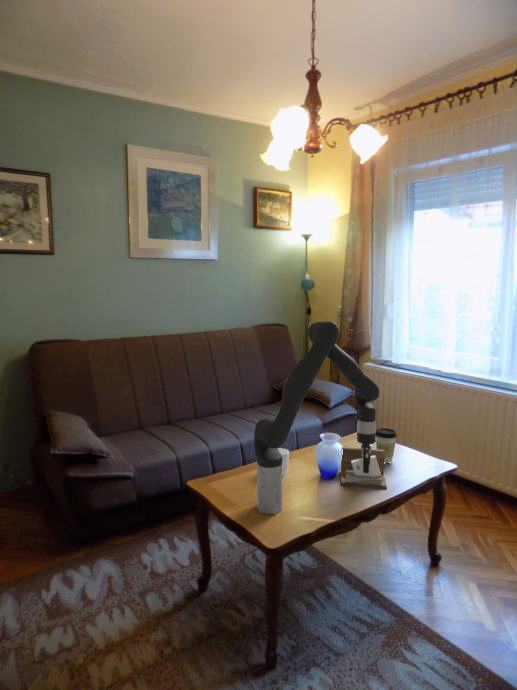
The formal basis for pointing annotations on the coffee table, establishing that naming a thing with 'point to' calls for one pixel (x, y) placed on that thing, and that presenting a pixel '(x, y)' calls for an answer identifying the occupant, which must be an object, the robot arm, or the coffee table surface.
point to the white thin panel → (373, 467)
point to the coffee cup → (386, 442)
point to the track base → (358, 455)
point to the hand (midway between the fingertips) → (365, 471)
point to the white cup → (284, 460)
